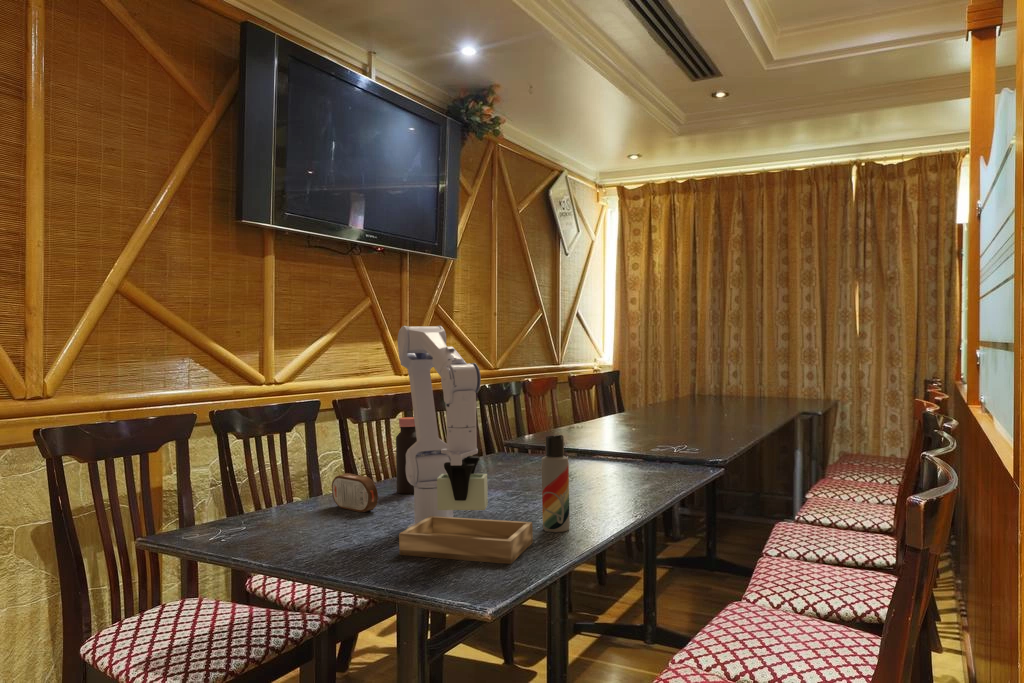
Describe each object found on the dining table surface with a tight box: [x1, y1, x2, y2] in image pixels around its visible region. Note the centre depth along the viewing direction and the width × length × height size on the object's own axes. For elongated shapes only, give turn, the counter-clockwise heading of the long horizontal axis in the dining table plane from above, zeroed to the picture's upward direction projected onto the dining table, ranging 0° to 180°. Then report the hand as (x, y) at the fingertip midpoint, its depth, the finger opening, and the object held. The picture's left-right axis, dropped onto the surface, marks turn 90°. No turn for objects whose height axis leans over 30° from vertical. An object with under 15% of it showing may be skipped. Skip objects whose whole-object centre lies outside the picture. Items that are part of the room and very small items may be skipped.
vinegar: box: [395, 416, 420, 495], centre depth 188 cm, size 7×7×20 cm
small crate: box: [437, 473, 489, 511], centre depth 134 cm, size 5×9×6 cm, turn 85°
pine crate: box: [398, 516, 534, 565], centre depth 134 cm, size 14×22×4 cm, turn 72°
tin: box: [331, 472, 379, 513], centre depth 168 cm, size 15×3×8 cm, turn 51°
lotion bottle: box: [541, 434, 571, 533], centre depth 147 cm, size 6×6×20 cm
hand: (462, 497), depth 134 cm, fingers closed on small crate, 5 cm apart
